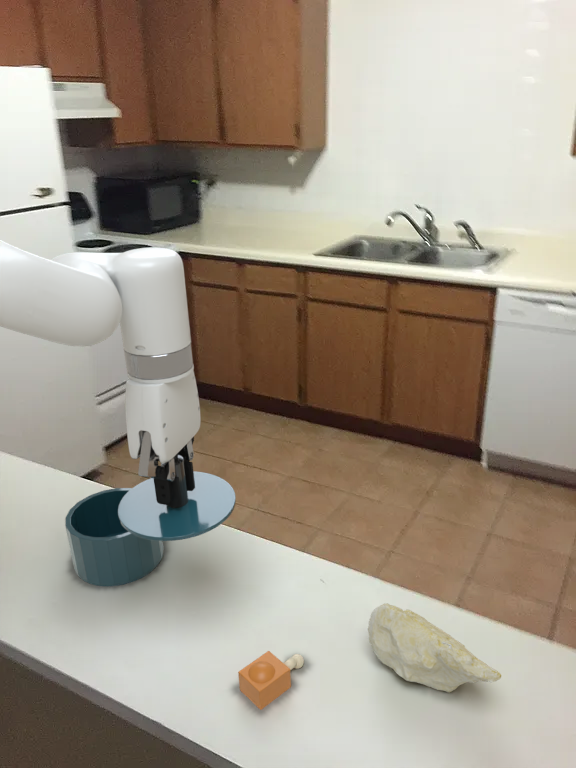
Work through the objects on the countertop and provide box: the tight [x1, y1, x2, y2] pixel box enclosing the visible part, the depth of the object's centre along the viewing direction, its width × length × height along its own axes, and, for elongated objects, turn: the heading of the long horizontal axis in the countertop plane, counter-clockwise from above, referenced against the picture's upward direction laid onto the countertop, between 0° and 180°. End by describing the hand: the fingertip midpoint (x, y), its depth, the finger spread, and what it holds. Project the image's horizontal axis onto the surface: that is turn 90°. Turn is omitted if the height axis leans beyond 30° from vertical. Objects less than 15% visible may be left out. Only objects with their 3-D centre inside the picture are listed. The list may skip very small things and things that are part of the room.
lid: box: [118, 455, 237, 542], centre depth 83 cm, size 15×15×7 cm
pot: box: [64, 487, 165, 587], centre depth 103 cm, size 14×14×8 cm
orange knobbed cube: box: [237, 650, 305, 711], centre depth 81 cm, size 8×4×4 cm, turn 132°
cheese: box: [367, 602, 502, 693], centre depth 81 cm, size 15×7×15 cm
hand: (176, 495), depth 83 cm, fingers closed on lid, 2 cm apart
